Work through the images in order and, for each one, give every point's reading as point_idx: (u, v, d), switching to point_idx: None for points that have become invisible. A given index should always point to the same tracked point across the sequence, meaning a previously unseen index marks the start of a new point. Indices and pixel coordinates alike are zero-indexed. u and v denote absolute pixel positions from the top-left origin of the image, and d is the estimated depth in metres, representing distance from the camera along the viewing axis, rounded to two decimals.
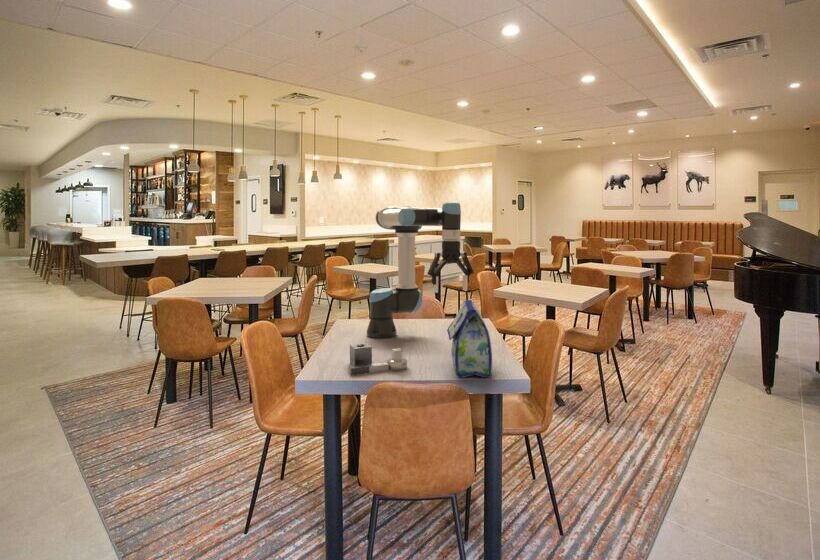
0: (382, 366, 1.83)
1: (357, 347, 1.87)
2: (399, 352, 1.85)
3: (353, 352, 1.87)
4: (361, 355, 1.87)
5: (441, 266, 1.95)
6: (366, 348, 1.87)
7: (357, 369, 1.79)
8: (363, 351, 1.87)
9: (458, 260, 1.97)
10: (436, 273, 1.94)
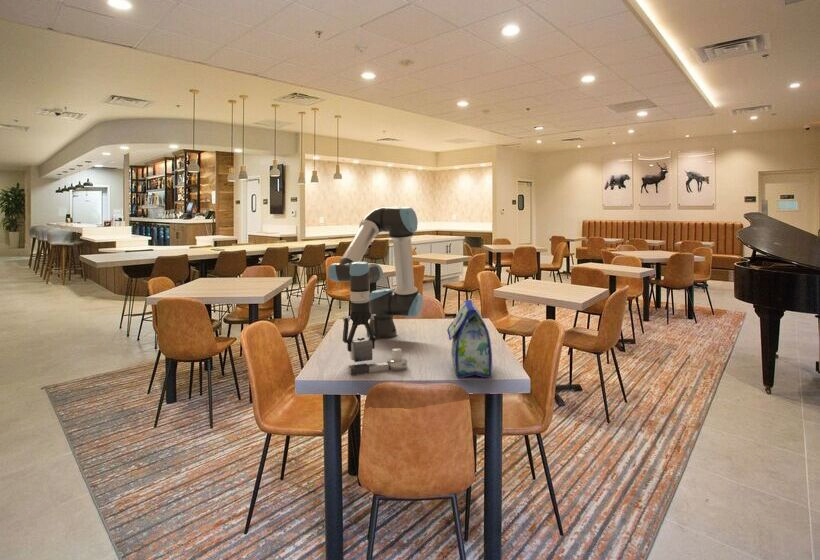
0: (382, 366, 1.83)
1: (357, 340, 1.87)
2: (399, 352, 1.85)
3: None
4: (362, 349, 1.87)
5: (353, 331, 1.87)
6: (366, 341, 1.87)
7: (357, 369, 1.79)
8: (363, 344, 1.87)
9: (366, 323, 1.88)
10: (350, 340, 1.87)
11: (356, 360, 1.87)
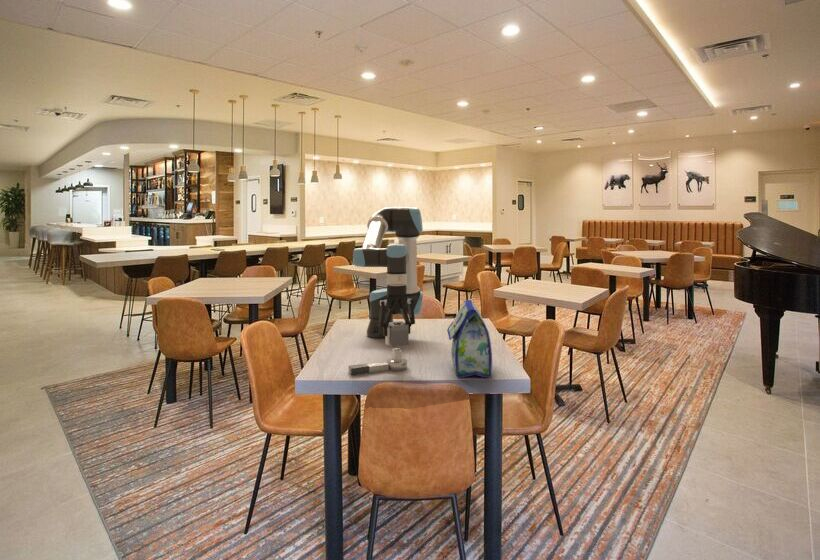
0: (382, 366, 1.83)
1: (394, 325, 1.82)
2: (399, 352, 1.85)
3: None
4: (398, 333, 1.82)
5: (389, 315, 1.82)
6: (403, 326, 1.82)
7: (357, 369, 1.79)
8: (400, 329, 1.82)
9: (403, 307, 1.83)
10: (386, 324, 1.82)
11: (392, 345, 1.81)
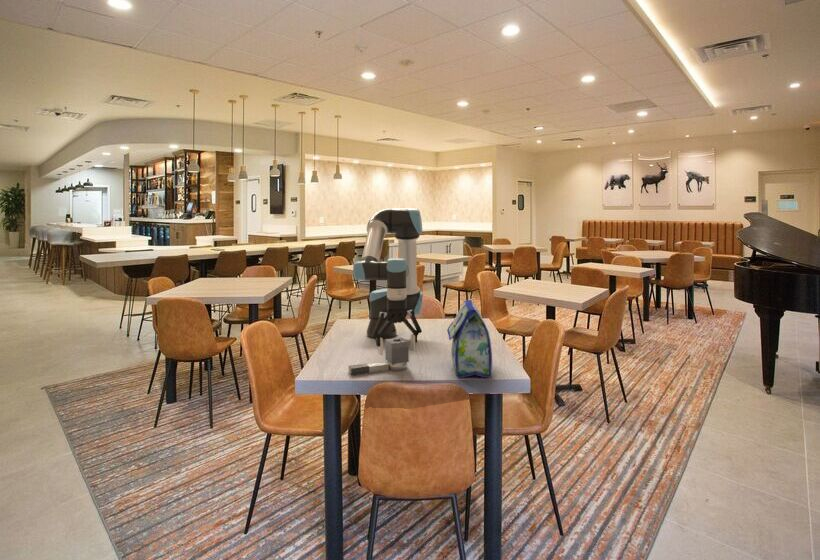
0: (382, 366, 1.83)
1: (394, 342, 1.83)
2: None
3: (389, 347, 1.83)
4: (398, 350, 1.83)
5: (385, 327, 1.82)
6: (403, 343, 1.83)
7: (357, 369, 1.79)
8: (400, 346, 1.83)
9: (404, 320, 1.84)
10: (380, 334, 1.81)
11: (392, 362, 1.82)
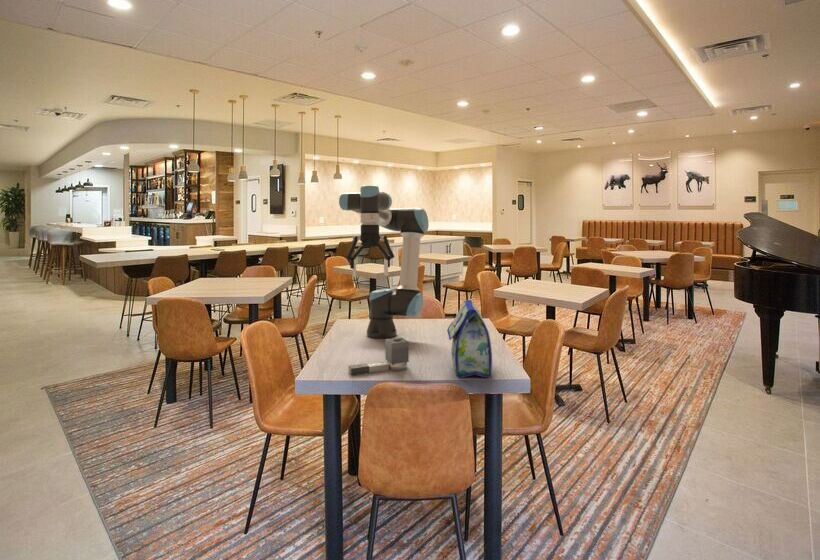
0: (382, 366, 1.83)
1: (394, 342, 1.83)
2: None
3: (389, 347, 1.83)
4: (398, 350, 1.83)
5: (359, 250, 1.92)
6: (403, 343, 1.83)
7: (357, 369, 1.79)
8: (400, 346, 1.83)
9: (377, 244, 1.95)
10: (354, 257, 1.92)
11: (392, 362, 1.82)
